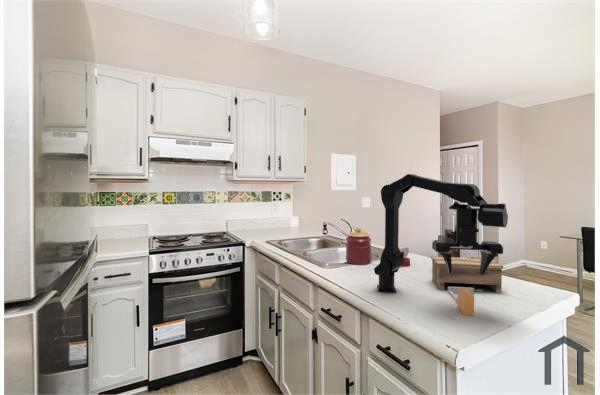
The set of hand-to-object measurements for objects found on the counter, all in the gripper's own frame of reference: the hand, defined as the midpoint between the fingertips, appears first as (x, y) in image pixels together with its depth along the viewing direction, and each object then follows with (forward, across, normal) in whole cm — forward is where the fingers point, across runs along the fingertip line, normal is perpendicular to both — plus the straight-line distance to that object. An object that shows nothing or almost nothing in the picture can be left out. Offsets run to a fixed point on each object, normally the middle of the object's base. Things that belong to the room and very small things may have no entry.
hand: (465, 274), depth 94 cm
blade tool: (+12, -3, -7) cm, 14 cm away
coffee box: (+12, -8, -44) cm, 46 cm away
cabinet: (+12, -8, -24) cm, 28 cm away
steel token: (+12, -11, -21) cm, 27 cm away
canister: (+12, +32, -56) cm, 66 cm away
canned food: (+12, +12, -54) cm, 57 cm away
